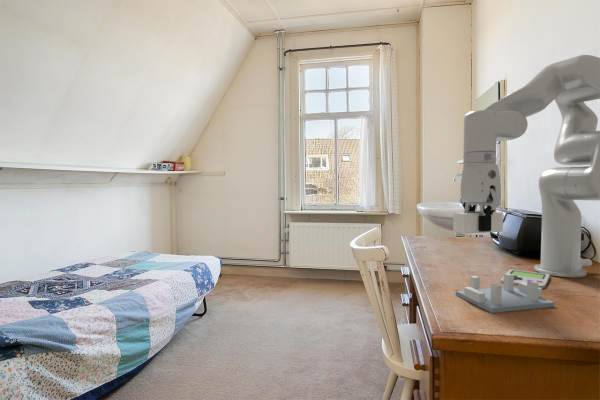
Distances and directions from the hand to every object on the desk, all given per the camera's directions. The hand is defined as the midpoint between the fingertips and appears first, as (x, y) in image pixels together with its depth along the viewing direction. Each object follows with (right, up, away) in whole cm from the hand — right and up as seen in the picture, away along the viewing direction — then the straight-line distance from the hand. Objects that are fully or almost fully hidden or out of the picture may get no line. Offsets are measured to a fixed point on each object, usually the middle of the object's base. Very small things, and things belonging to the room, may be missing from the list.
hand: (478, 229), depth 91 cm
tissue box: (0, -1, 0) cm, 1 cm away
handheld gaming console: (+17, -16, +7) cm, 24 cm away
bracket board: (+1, -16, -9) cm, 19 cm away
